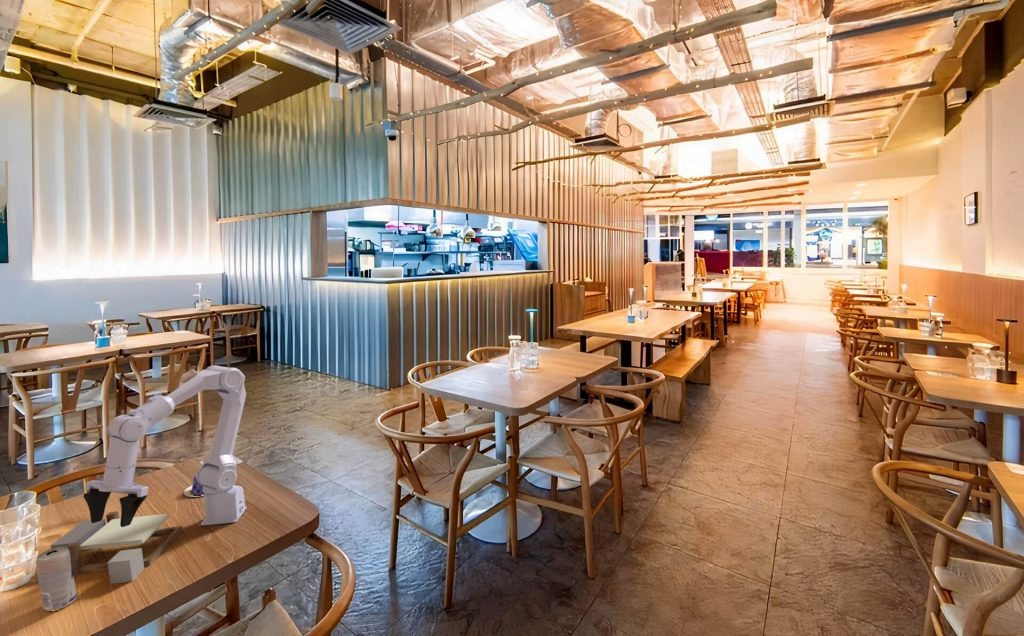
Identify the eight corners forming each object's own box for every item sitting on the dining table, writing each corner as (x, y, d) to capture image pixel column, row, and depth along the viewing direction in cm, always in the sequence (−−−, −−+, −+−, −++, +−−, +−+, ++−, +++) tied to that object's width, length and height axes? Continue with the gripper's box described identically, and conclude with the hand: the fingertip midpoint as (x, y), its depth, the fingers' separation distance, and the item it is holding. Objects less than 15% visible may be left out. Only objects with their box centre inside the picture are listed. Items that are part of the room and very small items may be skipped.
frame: (183, 529, 132) (179, 505, 131) (149, 565, 117) (145, 538, 116) (88, 539, 128) (84, 514, 127) (40, 577, 113) (36, 550, 112)
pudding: (178, 492, 154) (176, 476, 154) (218, 477, 164) (216, 463, 163) (192, 502, 147) (190, 486, 146) (233, 487, 157) (232, 472, 156)
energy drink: (74, 591, 108) (66, 542, 106) (79, 601, 105) (71, 551, 103) (42, 605, 104) (33, 554, 102) (45, 616, 101) (36, 564, 99)
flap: (169, 519, 129) (168, 511, 129) (142, 546, 117) (141, 537, 117) (86, 527, 126) (85, 519, 126) (50, 555, 114) (48, 546, 114)
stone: (144, 568, 116) (141, 548, 115) (132, 581, 111) (129, 560, 110) (123, 571, 115) (120, 550, 114) (110, 583, 110) (107, 562, 110)
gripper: (77, 465, 112) (66, 525, 110) (133, 472, 110) (123, 533, 109) (105, 460, 119) (95, 516, 117) (158, 466, 117) (149, 523, 116)
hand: (110, 523), depth 114 cm, fingers open, 7 cm apart
